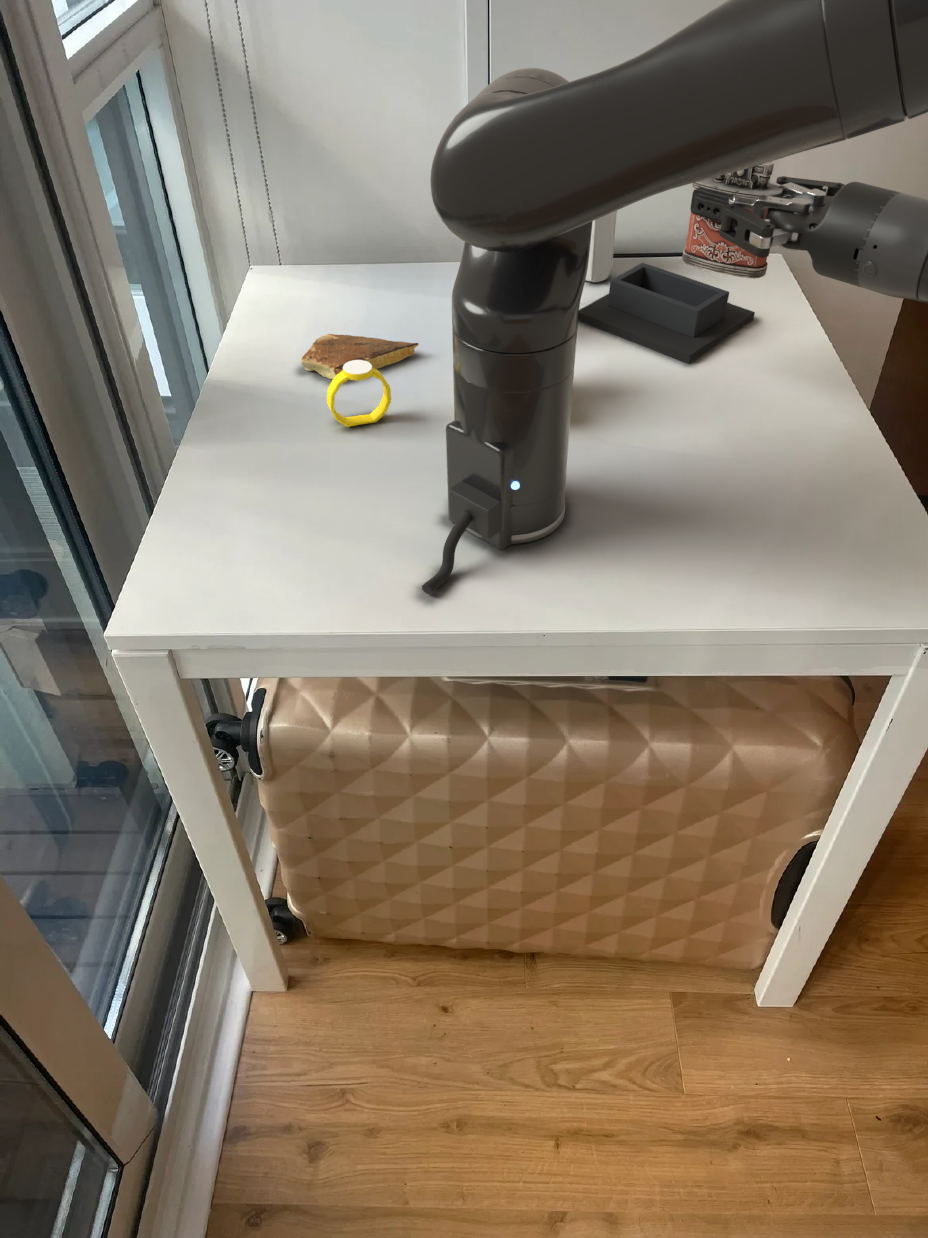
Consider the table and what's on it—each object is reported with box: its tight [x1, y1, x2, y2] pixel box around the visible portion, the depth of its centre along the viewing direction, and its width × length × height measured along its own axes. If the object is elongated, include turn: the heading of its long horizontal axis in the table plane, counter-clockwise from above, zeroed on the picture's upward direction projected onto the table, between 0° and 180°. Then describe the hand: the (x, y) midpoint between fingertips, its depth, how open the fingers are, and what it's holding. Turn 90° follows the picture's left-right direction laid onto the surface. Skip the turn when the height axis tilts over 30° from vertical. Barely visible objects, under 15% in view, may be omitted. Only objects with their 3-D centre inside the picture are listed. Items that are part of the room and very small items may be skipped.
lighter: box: [681, 160, 783, 279], centre depth 85 cm, size 8×3×10 cm, turn 57°
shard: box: [300, 333, 419, 380], centre depth 99 cm, size 11×8×2 cm
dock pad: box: [578, 262, 756, 365], centre depth 105 cm, size 13×15×4 cm
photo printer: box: [585, 210, 618, 283], centre depth 112 cm, size 10×4×12 cm, turn 39°
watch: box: [326, 360, 392, 428], centre depth 90 cm, size 6×3×6 cm, turn 111°
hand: (707, 193), depth 86 cm, fingers closed on lighter, 3 cm apart
